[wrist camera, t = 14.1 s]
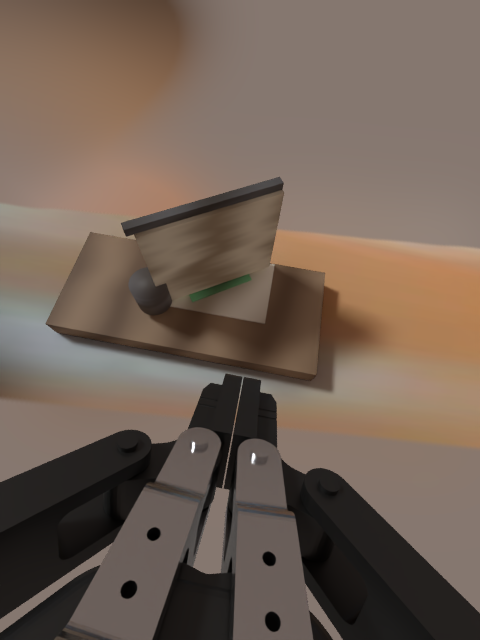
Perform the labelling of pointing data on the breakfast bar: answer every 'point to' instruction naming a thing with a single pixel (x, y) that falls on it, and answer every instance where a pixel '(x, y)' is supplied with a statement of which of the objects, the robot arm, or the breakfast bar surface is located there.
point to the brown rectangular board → (197, 312)
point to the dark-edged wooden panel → (204, 243)
